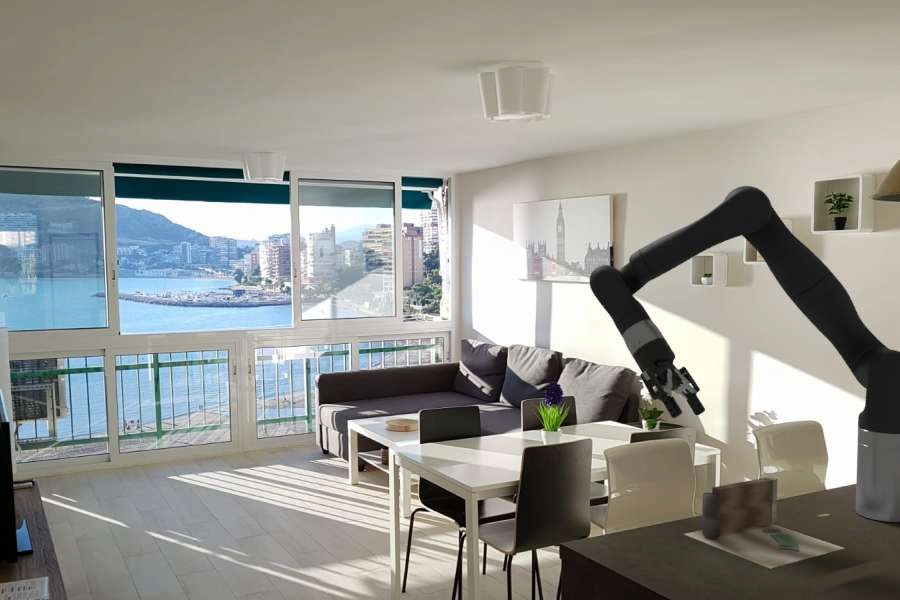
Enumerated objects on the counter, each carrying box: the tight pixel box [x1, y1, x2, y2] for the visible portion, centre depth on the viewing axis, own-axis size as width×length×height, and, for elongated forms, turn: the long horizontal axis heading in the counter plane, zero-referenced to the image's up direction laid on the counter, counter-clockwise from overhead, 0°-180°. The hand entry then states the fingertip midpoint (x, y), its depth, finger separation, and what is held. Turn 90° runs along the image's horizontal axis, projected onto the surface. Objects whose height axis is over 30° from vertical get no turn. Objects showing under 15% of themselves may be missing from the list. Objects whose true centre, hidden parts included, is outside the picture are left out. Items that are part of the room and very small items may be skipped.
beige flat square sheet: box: [683, 523, 845, 569], centre depth 133 cm, size 19×18×2 cm
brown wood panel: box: [701, 476, 778, 537], centre depth 138 cm, size 18×3×8 cm, turn 119°
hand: (689, 414), depth 151 cm, fingers open, 8 cm apart
